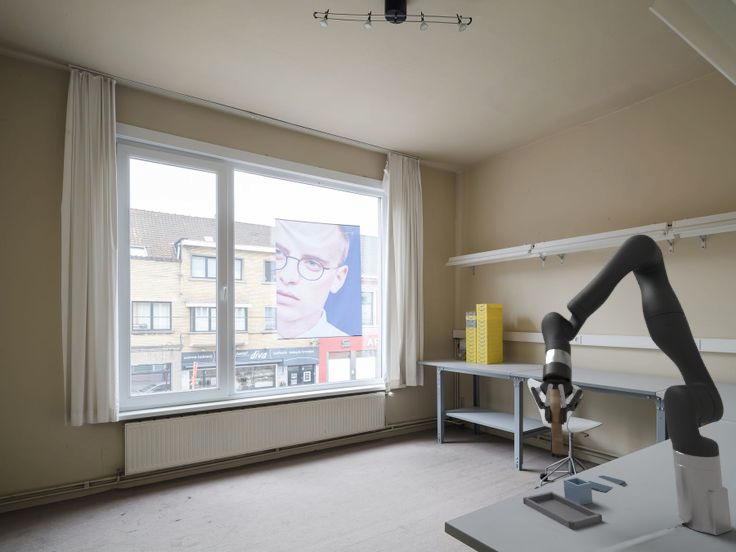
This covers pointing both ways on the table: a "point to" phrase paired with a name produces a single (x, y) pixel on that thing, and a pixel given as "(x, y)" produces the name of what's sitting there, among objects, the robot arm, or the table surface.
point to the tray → (562, 510)
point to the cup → (578, 491)
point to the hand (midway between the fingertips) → (555, 422)
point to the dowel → (556, 421)
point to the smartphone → (603, 487)
